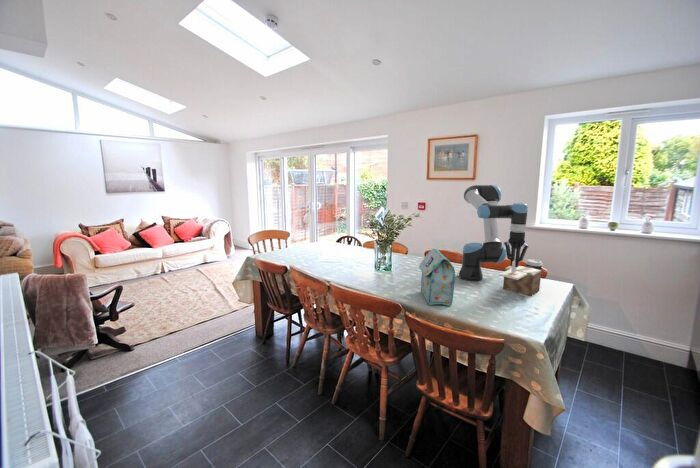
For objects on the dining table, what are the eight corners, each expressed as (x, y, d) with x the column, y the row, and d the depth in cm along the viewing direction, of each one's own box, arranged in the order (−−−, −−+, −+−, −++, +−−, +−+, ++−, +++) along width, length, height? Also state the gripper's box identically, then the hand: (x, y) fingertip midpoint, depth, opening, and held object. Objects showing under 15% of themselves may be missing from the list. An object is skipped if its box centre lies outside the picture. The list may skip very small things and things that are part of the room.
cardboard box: (502, 288, 193) (504, 268, 191) (511, 284, 201) (513, 264, 199) (531, 296, 181) (533, 274, 179) (539, 291, 189) (541, 270, 187)
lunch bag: (417, 291, 190) (418, 247, 185) (444, 291, 190) (447, 247, 185) (424, 306, 167) (426, 257, 163) (456, 307, 167) (459, 257, 162)
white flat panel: (499, 275, 180) (499, 273, 180) (509, 271, 188) (509, 269, 188) (517, 279, 173) (517, 277, 172) (527, 275, 181) (527, 273, 181)
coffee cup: (543, 286, 196) (545, 263, 194) (526, 285, 198) (528, 262, 196) (537, 281, 206) (539, 259, 203) (521, 280, 208) (523, 258, 205)
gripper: (502, 230, 179) (499, 270, 183) (527, 233, 169) (523, 276, 173) (508, 229, 183) (505, 268, 188) (532, 232, 174) (528, 273, 178)
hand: (513, 272), depth 180 cm, fingers closed
